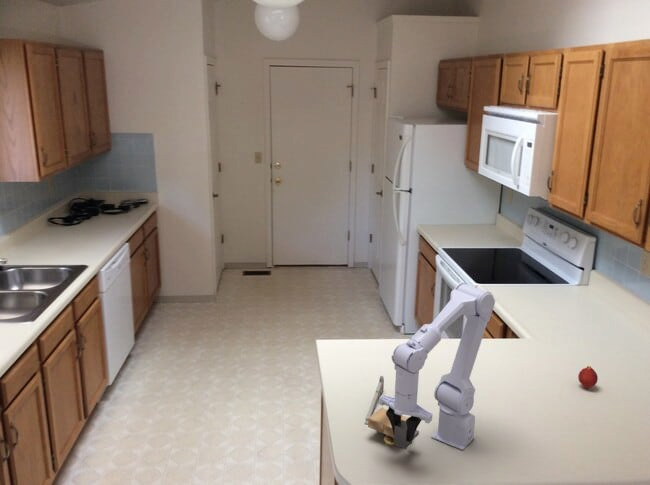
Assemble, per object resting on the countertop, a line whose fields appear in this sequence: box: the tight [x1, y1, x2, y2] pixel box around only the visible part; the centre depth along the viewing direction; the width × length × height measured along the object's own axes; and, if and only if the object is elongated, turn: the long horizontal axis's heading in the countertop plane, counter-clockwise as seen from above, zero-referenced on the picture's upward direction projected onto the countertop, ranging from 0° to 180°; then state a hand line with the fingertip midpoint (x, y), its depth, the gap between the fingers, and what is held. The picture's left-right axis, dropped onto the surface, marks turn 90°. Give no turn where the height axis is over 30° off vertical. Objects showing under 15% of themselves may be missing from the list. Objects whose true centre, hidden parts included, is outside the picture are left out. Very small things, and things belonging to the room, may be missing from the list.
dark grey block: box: [394, 420, 420, 450], centre depth 152 cm, size 8×4×6 cm, turn 143°
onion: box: [577, 365, 599, 389], centre depth 190 cm, size 6×6×8 cm
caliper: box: [364, 375, 385, 425], centre depth 177 cm, size 20×1×6 cm, turn 162°
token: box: [383, 435, 396, 447], centre depth 160 cm, size 4×4×1 cm
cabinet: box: [367, 407, 409, 438], centre depth 161 cm, size 10×7×6 cm
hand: (403, 437), depth 151 cm, fingers closed on dark grey block, 3 cm apart
